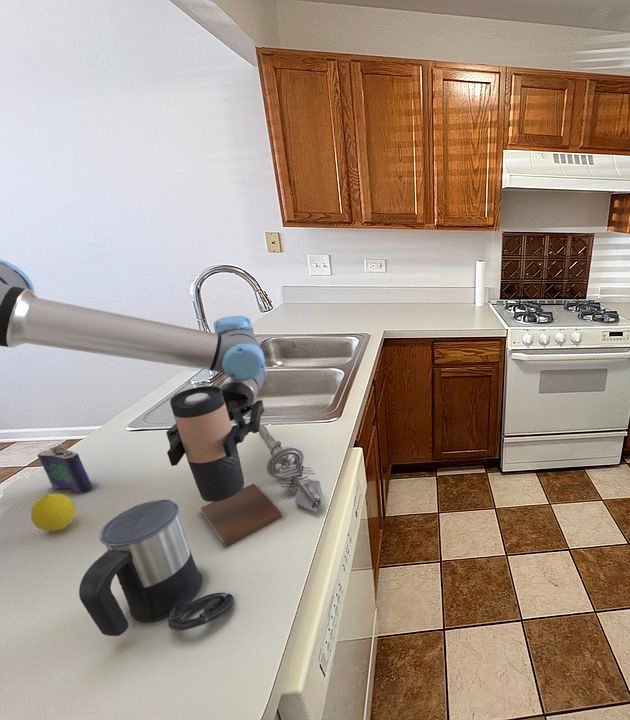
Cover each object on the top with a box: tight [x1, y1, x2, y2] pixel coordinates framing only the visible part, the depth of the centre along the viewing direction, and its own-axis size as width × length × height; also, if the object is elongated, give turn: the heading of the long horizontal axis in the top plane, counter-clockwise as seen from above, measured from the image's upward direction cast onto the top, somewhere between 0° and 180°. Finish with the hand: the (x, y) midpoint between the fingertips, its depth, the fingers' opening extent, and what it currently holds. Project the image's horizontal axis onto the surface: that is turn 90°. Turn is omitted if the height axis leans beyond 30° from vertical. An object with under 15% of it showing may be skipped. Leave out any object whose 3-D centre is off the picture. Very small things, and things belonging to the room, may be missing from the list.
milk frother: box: [78, 499, 235, 637], centre depth 59 cm, size 14×16×15 cm
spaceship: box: [258, 424, 324, 512], centre depth 89 cm, size 8×35×8 cm
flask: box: [36, 443, 94, 494], centre depth 85 cm, size 9×3×11 cm, turn 79°
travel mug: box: [169, 385, 245, 503], centre depth 72 cm, size 8×8×20 cm
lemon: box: [30, 493, 77, 532], centre depth 74 cm, size 6×6×8 cm
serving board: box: [200, 482, 282, 548], centre depth 79 cm, size 13×10×2 cm
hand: (199, 454), depth 67 cm, fingers closed on travel mug, 7 cm apart
